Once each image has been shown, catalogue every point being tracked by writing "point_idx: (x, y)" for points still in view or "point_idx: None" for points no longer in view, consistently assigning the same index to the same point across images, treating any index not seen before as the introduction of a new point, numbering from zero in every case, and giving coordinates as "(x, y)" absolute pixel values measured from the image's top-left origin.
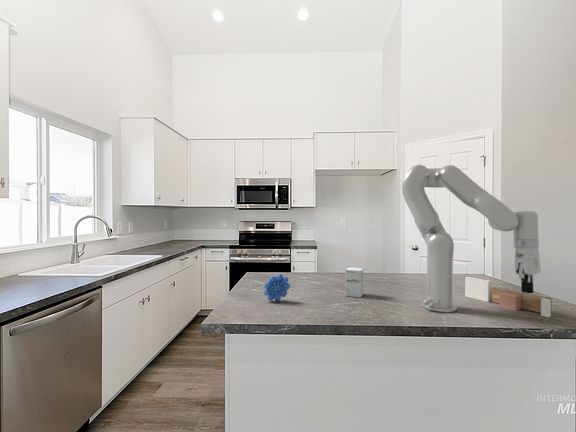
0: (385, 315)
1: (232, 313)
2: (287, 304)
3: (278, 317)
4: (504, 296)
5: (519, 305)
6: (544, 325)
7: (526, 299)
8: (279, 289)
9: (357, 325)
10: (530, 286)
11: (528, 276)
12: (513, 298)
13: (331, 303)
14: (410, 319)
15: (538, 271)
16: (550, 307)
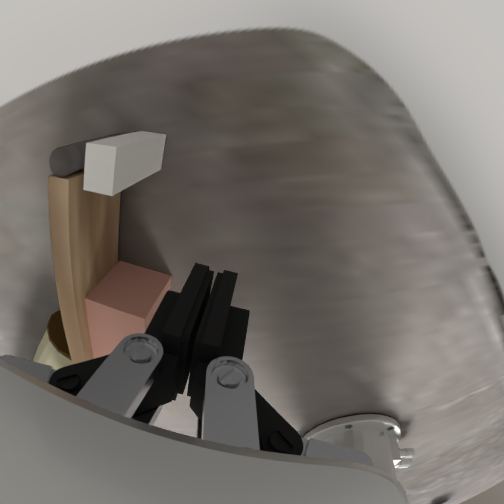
0: (466, 448)
1: (494, 482)
2: (447, 496)
3: (501, 469)
4: None
5: (123, 274)
6: (361, 134)
7: (91, 265)
8: None
9: None
10: (226, 320)
11: (256, 445)
12: (148, 321)
13: (421, 494)
14: (480, 423)
15: (15, 403)
16: (120, 136)
